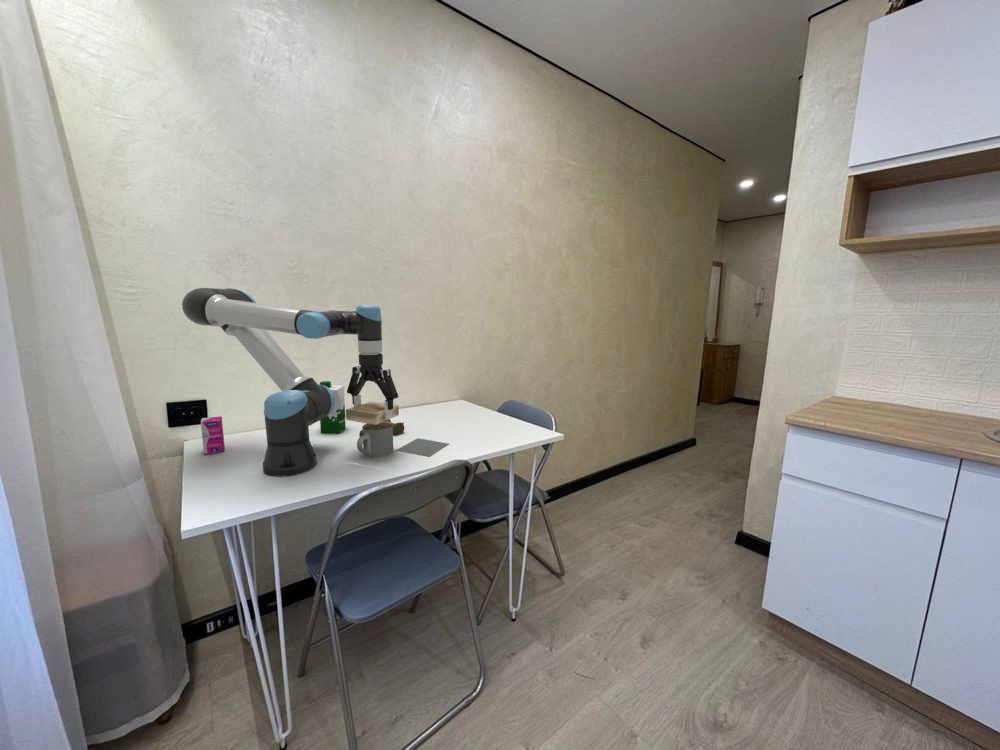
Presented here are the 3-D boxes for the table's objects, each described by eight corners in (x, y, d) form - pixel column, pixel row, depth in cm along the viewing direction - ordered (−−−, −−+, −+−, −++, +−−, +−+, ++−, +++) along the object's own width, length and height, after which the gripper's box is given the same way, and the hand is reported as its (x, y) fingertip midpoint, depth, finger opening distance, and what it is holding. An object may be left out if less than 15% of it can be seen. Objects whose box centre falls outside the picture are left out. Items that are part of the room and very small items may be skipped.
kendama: (354, 441, 151) (396, 427, 166) (370, 447, 145) (412, 432, 161) (354, 426, 149) (395, 413, 165) (370, 432, 144) (411, 418, 160)
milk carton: (327, 427, 164) (324, 379, 161) (349, 427, 164) (346, 380, 160) (317, 434, 156) (314, 384, 152) (340, 434, 156) (337, 384, 152)
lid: (375, 424, 127) (375, 413, 126) (346, 419, 131) (345, 408, 130) (398, 415, 137) (398, 404, 137) (370, 410, 142) (370, 400, 141)
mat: (429, 458, 134) (429, 457, 134) (395, 452, 139) (395, 450, 139) (449, 445, 147) (449, 443, 147) (417, 439, 152) (417, 438, 152)
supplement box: (203, 455, 133) (199, 422, 130) (204, 449, 137) (201, 418, 135) (224, 452, 136) (221, 420, 134) (225, 446, 141) (221, 415, 138)
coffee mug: (383, 446, 145) (382, 419, 143) (399, 453, 138) (398, 425, 136) (348, 456, 135) (347, 427, 133) (363, 464, 128) (362, 434, 127)
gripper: (408, 354, 129) (409, 418, 133) (349, 349, 138) (352, 409, 142) (394, 357, 122) (395, 424, 126) (333, 351, 131) (336, 414, 135)
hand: (373, 416), depth 134 cm, fingers closed on lid, 12 cm apart
